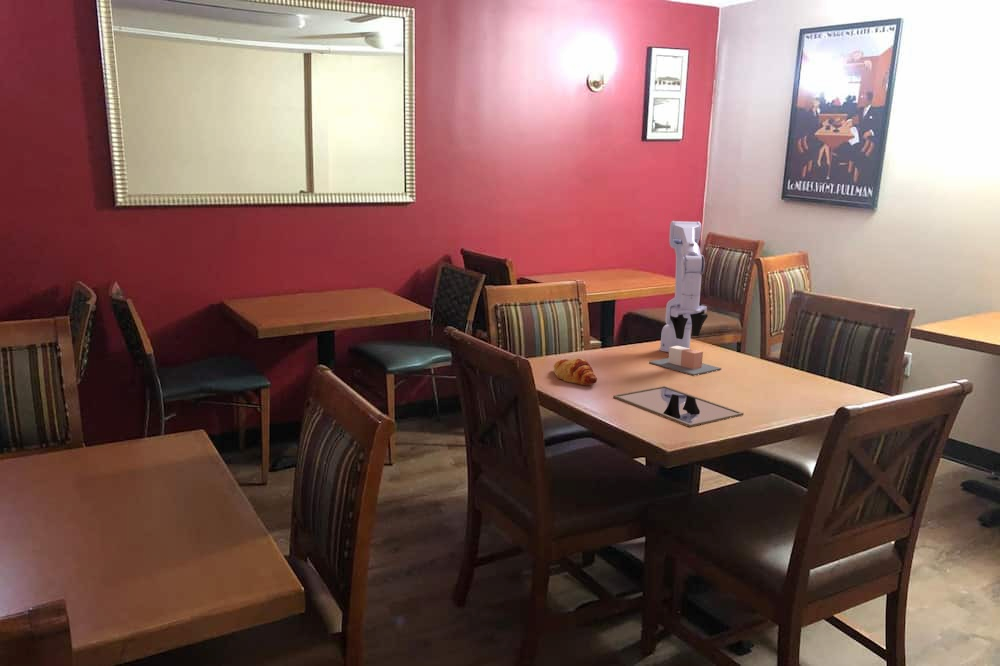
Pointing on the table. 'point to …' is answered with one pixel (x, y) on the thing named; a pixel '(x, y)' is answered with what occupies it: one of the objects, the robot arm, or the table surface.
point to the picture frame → (678, 406)
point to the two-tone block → (685, 357)
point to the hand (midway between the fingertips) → (687, 337)
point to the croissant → (575, 371)
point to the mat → (703, 369)
